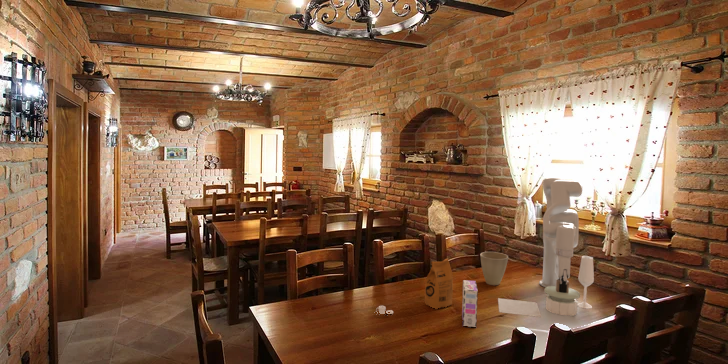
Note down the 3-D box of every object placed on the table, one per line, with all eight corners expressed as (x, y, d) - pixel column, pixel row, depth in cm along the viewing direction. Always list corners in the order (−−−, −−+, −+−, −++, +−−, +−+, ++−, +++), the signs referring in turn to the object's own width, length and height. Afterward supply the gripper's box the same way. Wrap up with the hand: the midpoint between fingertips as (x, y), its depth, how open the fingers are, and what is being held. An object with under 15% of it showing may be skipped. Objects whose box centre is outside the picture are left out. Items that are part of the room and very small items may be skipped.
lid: (542, 286, 207) (543, 274, 207) (576, 289, 203) (576, 277, 202) (546, 297, 193) (547, 284, 192) (583, 300, 189) (583, 287, 188)
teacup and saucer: (394, 313, 194) (394, 305, 194) (389, 320, 187) (390, 311, 187) (376, 311, 197) (376, 302, 197) (371, 317, 190) (371, 308, 189)
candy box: (476, 328, 179) (478, 290, 177) (462, 327, 180) (463, 289, 178) (474, 315, 192) (476, 280, 191) (461, 314, 193) (462, 279, 192)
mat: (498, 299, 212) (498, 298, 212) (536, 303, 207) (536, 302, 207) (499, 313, 195) (499, 312, 195) (541, 318, 190) (541, 316, 190)
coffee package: (421, 303, 206) (422, 259, 204) (441, 299, 212) (442, 256, 210) (434, 310, 197) (436, 264, 195) (454, 305, 204) (456, 261, 201)
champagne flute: (594, 309, 201) (597, 259, 199) (578, 307, 203) (581, 258, 200) (589, 303, 208) (592, 255, 205) (574, 302, 209) (577, 255, 207)
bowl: (544, 304, 207) (544, 292, 206) (573, 307, 203) (574, 295, 203) (547, 314, 194) (548, 301, 194) (578, 317, 191) (579, 305, 190)
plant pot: (475, 284, 235) (476, 256, 233) (484, 277, 247) (485, 250, 246) (502, 289, 226) (503, 260, 225) (510, 282, 239) (511, 254, 237)
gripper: (552, 247, 205) (550, 284, 207) (558, 256, 189) (556, 296, 191) (569, 248, 203) (567, 286, 205) (576, 257, 187) (574, 297, 189)
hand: (562, 290), depth 198 cm, fingers closed on lid, 3 cm apart
